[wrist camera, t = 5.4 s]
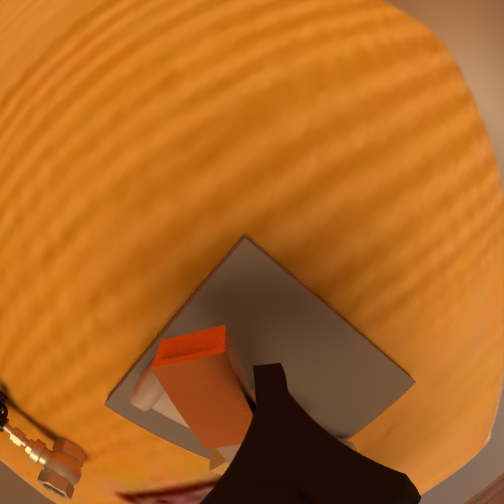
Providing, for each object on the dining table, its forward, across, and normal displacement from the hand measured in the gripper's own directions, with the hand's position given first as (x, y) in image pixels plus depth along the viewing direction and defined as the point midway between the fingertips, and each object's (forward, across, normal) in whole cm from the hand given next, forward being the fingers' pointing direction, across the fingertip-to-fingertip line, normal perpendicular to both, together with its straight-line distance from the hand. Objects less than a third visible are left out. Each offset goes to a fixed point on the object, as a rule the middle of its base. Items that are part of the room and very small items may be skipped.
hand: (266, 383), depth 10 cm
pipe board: (+6, 0, +8) cm, 10 cm away
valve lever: (+1, +1, +4) cm, 4 cm away
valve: (+7, +24, +14) cm, 28 cm away
